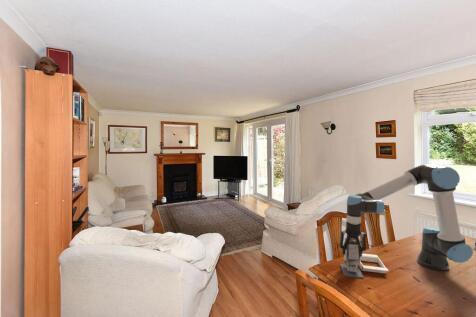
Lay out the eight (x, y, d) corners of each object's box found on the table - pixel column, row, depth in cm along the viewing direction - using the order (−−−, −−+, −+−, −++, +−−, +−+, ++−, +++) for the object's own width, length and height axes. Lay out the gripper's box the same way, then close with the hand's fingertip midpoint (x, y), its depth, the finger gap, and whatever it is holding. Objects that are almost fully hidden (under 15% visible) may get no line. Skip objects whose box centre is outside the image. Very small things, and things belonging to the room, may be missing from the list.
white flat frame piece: (376, 259, 151) (376, 255, 151) (388, 276, 133) (388, 270, 132) (354, 257, 154) (355, 252, 154) (363, 273, 136) (363, 267, 135)
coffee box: (359, 272, 132) (361, 245, 131) (347, 271, 134) (348, 244, 132) (355, 264, 141) (356, 238, 140) (343, 263, 142) (344, 237, 141)
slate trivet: (357, 267, 142) (357, 265, 142) (363, 278, 131) (363, 276, 130) (340, 265, 144) (340, 263, 144) (344, 275, 133) (344, 274, 133)
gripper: (369, 221, 137) (368, 259, 138) (334, 218, 141) (333, 255, 143) (374, 225, 129) (372, 265, 131) (336, 223, 134) (335, 261, 136)
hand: (351, 260), depth 137 cm, fingers closed on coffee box, 6 cm apart
